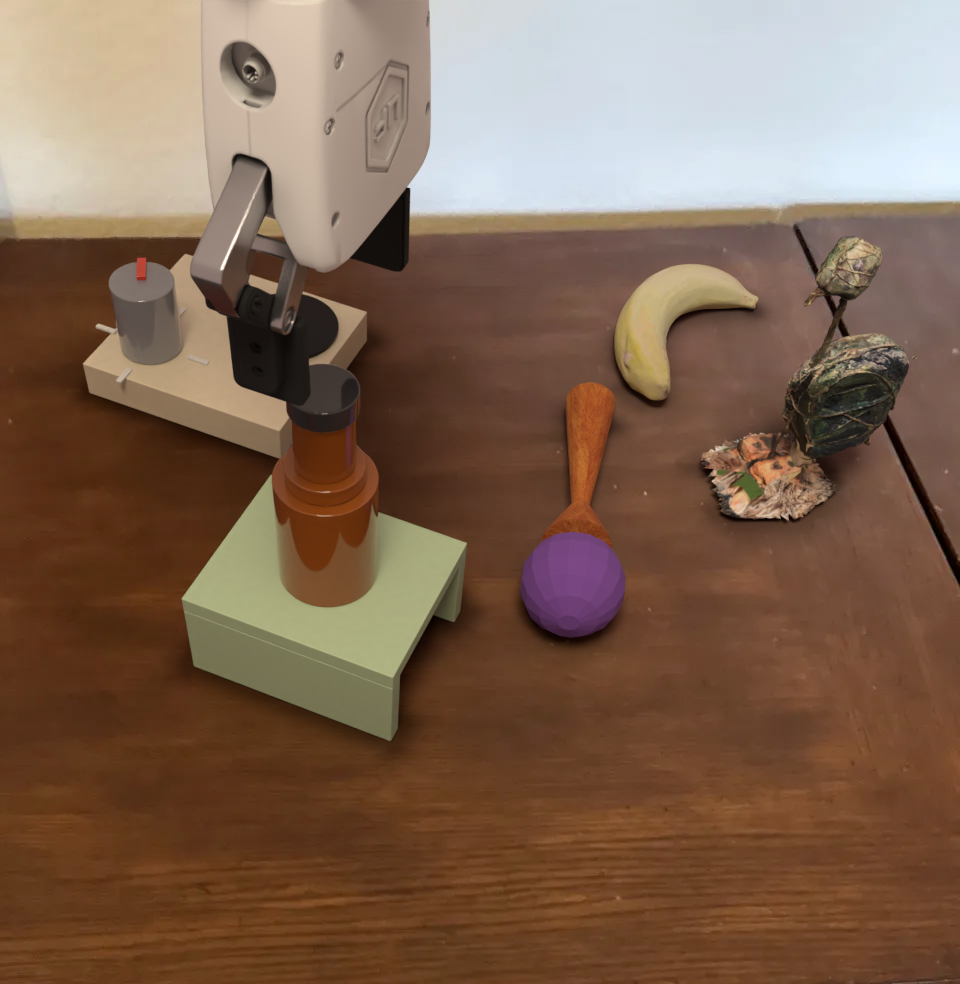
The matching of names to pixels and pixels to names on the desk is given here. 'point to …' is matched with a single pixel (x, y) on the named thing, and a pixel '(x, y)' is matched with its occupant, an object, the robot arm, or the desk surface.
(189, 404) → the hob
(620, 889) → the desk surface
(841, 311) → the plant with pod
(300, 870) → the desk surface
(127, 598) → the desk surface
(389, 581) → the shelf
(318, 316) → the burner
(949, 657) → the desk surface
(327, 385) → the spice bottle
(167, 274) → the hob knob
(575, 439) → the kendama
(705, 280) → the fruit
